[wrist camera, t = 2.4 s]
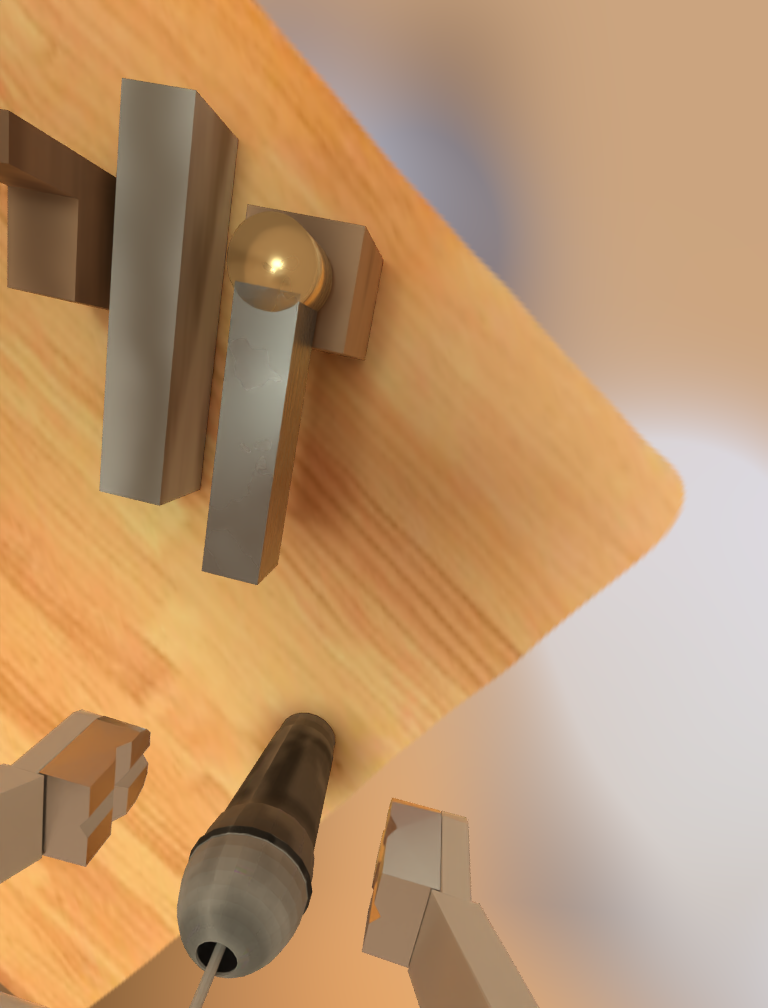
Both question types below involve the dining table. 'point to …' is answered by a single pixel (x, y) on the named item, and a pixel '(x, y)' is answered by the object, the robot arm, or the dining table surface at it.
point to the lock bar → (262, 390)
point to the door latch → (157, 271)
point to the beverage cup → (257, 858)
